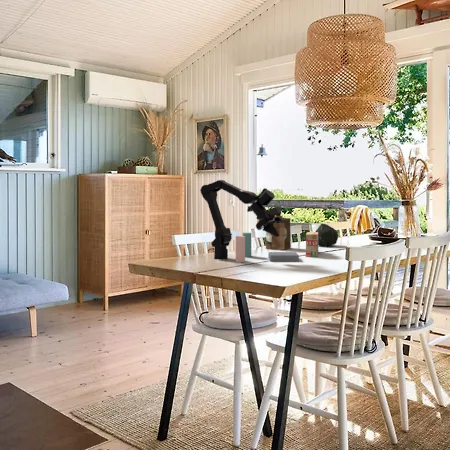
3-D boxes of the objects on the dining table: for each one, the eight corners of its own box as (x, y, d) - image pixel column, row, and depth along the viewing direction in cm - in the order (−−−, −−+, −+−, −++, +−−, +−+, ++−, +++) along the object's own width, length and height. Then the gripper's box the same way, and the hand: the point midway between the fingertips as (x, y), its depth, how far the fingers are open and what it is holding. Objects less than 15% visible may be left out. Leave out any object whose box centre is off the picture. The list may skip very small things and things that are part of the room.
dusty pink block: (235, 262, 269) (235, 236, 268) (235, 260, 274) (235, 236, 273) (244, 262, 269) (245, 236, 268) (244, 260, 274) (244, 236, 273)
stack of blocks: (307, 252, 310) (307, 230, 309) (318, 252, 309) (318, 230, 308) (305, 257, 289) (305, 233, 288) (317, 257, 288) (317, 234, 287)
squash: (345, 237, 342) (330, 218, 346) (337, 240, 329) (321, 221, 333) (329, 251, 348) (314, 232, 352) (320, 254, 336) (305, 235, 340)
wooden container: (262, 249, 324) (262, 212, 323) (270, 246, 338) (270, 211, 336) (286, 250, 319) (286, 212, 317) (293, 247, 332) (293, 211, 331)
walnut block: (271, 249, 264) (271, 223, 263) (276, 248, 267) (276, 223, 266) (279, 250, 261) (280, 223, 260) (284, 249, 265) (284, 223, 264)
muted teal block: (242, 256, 289) (242, 233, 288) (242, 255, 294) (242, 232, 293) (251, 256, 289) (251, 233, 288) (251, 255, 294) (251, 232, 293)
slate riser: (270, 261, 271) (270, 255, 271) (268, 257, 285) (268, 252, 285) (298, 261, 271) (298, 255, 271) (295, 257, 285) (295, 252, 285)
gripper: (261, 201, 257) (282, 225, 252) (280, 200, 272) (300, 223, 267) (247, 217, 262) (267, 241, 257) (266, 215, 277) (285, 238, 272)
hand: (280, 235), depth 263 cm, fingers closed on walnut block, 4 cm apart
